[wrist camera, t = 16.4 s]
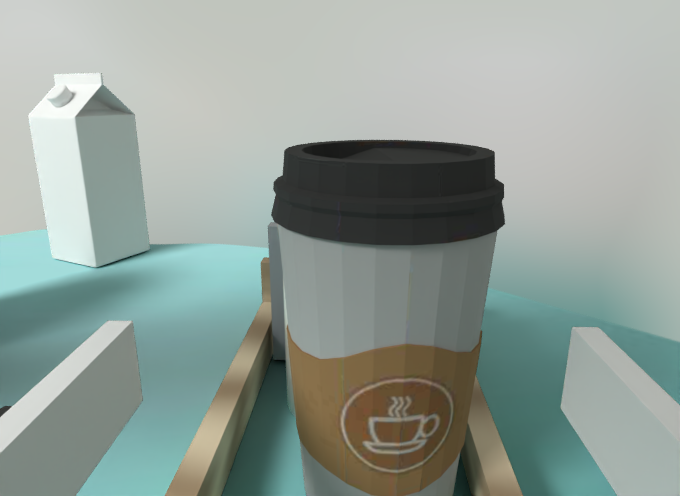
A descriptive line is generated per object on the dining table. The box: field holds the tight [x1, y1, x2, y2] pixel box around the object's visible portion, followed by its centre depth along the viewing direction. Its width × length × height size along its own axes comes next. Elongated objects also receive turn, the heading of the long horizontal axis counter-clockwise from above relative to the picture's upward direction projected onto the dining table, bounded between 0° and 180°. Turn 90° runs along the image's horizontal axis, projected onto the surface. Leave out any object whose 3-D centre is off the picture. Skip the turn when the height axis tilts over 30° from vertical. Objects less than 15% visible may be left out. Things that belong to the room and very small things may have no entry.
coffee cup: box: [271, 140, 505, 496], centre depth 20 cm, size 8×8×15 cm
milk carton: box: [28, 73, 150, 267], centre depth 53 cm, size 7×7×19 cm
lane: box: [165, 258, 523, 496], centre depth 26 cm, size 25×13×6 cm, turn 177°
